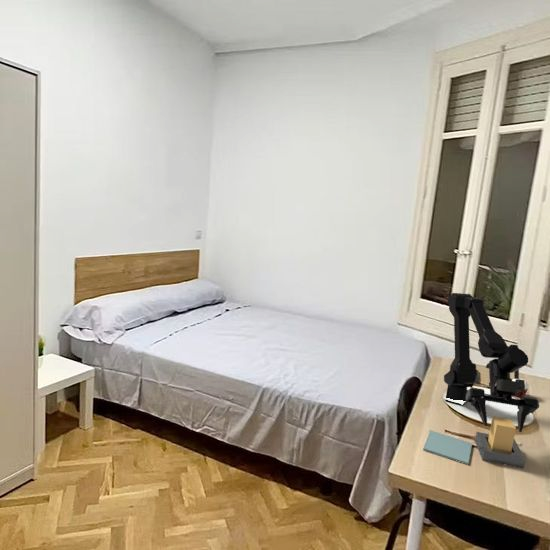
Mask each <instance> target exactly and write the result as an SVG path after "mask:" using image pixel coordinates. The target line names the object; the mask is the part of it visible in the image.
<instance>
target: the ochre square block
mask: <svg viewBox="0 0 550 550" xmlns="http://www.w3.org/2000/svg"><path fill="white" fill-rule="evenodd" d="M516 431H517V427H516V425H515V424H514V423H513V421H512V419H508V418H502V417H497V416H492V417H491V424H490V428H489V432H488V434H489V438H488V444H489V446H490V448H492V449H497V450H502V451H507V452H511V451H512V446H513V441H514V439H515V437H516V436H515V435H516Z"/></svg>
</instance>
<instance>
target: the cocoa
mask: <svg viewBox="0 0 550 550" xmlns="http://www.w3.org/2000/svg"><path fill="white" fill-rule="evenodd" d="M513 375H514V377H513V378H512V381H516V379H520V380H524V382H525V390H524V391H518V393H515V396H514V397H517V398H522V397H523V396H526V394H527V393H528V392H527V391H528V388H529V386H530V385H529V383H528V381H526V379H524V378H520V369H518V370H517V371H515V372H513Z"/></svg>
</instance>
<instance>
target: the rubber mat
mask: <svg viewBox="0 0 550 550" xmlns="http://www.w3.org/2000/svg"><path fill="white" fill-rule="evenodd" d="M472 446H473V443H472V442H469V441H467V440H463V439H460V438H456V437H454V436H450V435H447V434H444V433H441V432H437V431H434V430H431V429H430V430H429V432H428V436H427V438H426V441H425V443H424V446H423V449H422V451H425V452H427V453H430V454H433V455H436V456H440V457H442V456H443V458H445V457H447V458H446V459H449V458H451V459H450V460H452V459H454V460H453V461H455V460H457V461H456V462H458V461H460V462H459V463H461V462H463V463H462V464H464V463H466V464H465V465H467V464H468V465H469V464H470V463H469V462H470V457H471V452H472Z"/></svg>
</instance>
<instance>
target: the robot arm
mask: <svg viewBox="0 0 550 550" xmlns="http://www.w3.org/2000/svg"><path fill="white" fill-rule="evenodd" d="M447 303H448V309H449V313H450V314H451V315H452V316H453V320H454V321H453V323H454V324H453V326H454V327H453V328H454V332H453V333H454V335H453V336H454V359H453V360H452V362H451V364H450V365H449V366H450V367H449V371H448V372H446V373H445V374H444V376H443V382H444V383H445V384H446V385H447V389H446V394H445V397H446V398H450V399H453V400H463V401H466V403H469V404H470V406H473V408H474V409H475V411H476V412H477V414H478V416H479V417H480V420H481V422H482V423H483V426H484V427H487V425H488V418H487V417H488V415H487V408H486V402H487V401H488V402H493V403H497V404H498V403H499V404H503V405H509V406H515V407H517V409H518V411H517V412H516V417H517V429H518V433H522V431H523V429H524V425H525V423H526V419H527V416H528V415H530V414H533V413H534V412H536V411H537V410H538V409H539V408H540V401H539V400H538V398H536V397H532V396H526V395H524V396H523V397H520V399H519V398H513V397H516V396H515V393H518V391H524V390H525V382H524V380H525V379H524V380H520V379H521V378H519V379H516V381H512V380H513V378H511V374H514V372H515V371H517V370H518V369H519V370H520V369H522V368H523V367H525V366H527V364H528V363H529V356H528V354H526V353H525V351H523V350H522V349H521V348H519V345H518V344H510V345H509V346H508V345H507V343H506V341H505V339H504V338H503V336H501V335H500V334H499V333H498V332H497V331H496V330H495V329H494V326H493V324H492V322H491V319H490V317H489V315H488V312H487V311H486V309H485V307H484V300H483V299H482V298H480V297H474V296H473V295H472V294H471V293H461V292H459V293H457V292H452V293H451V294H450V295H449V296H448V299H447ZM470 317H471V320H472V322H473V324H474V326H475V330H476V332H477V334H478V337H479V338H478V341H477V345H478V351H479V352H480V354H481V356H482V357H484V358H488V359H491V360H489V362H488V363H487V364H486V366H485V368H486V369H488V370H489V383H488V386H489V391H490V394H489V393H485V389H483V388H479V387H473V386H474V385H475V383H474V382H475V380H476V378H477V377H476V376H477V374H476V370H477V365H476V363H473V362H472V359H471V353H470V348H471V346H470V345H471V344H470ZM468 388H469V389H468Z"/></svg>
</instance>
